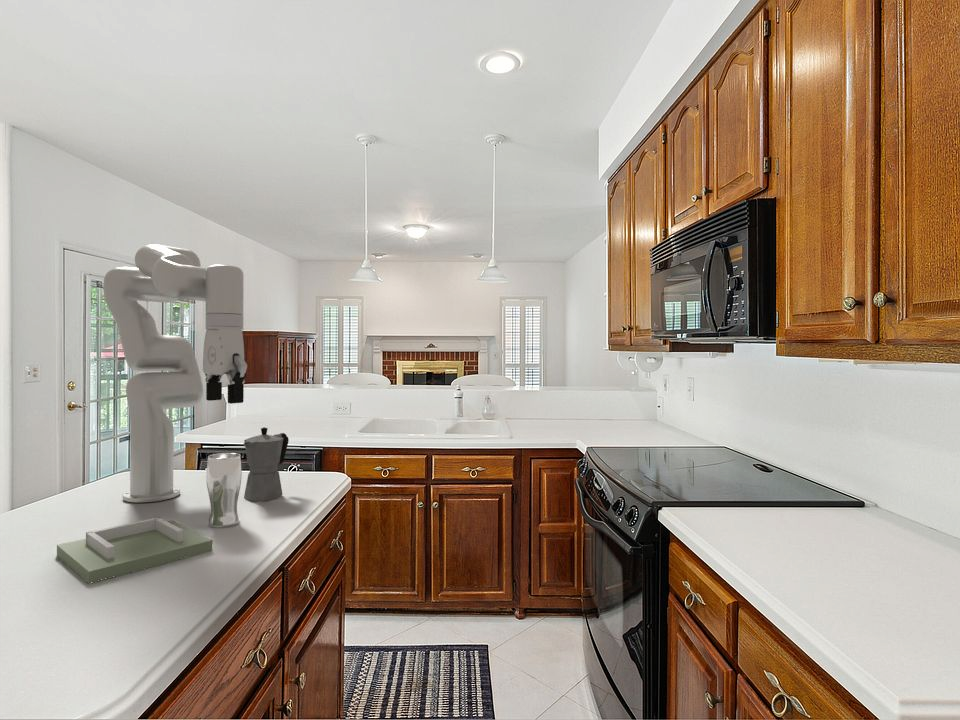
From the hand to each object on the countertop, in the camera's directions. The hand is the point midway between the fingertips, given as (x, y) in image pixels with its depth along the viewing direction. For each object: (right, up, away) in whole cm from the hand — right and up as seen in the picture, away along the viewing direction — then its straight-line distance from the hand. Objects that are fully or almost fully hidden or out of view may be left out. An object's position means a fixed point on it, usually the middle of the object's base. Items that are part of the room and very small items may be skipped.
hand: (224, 401), depth 122 cm
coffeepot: (0, -27, +23) cm, 35 cm away
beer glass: (0, -27, +1) cm, 27 cm away
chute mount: (-9, -27, -17) cm, 33 cm away
